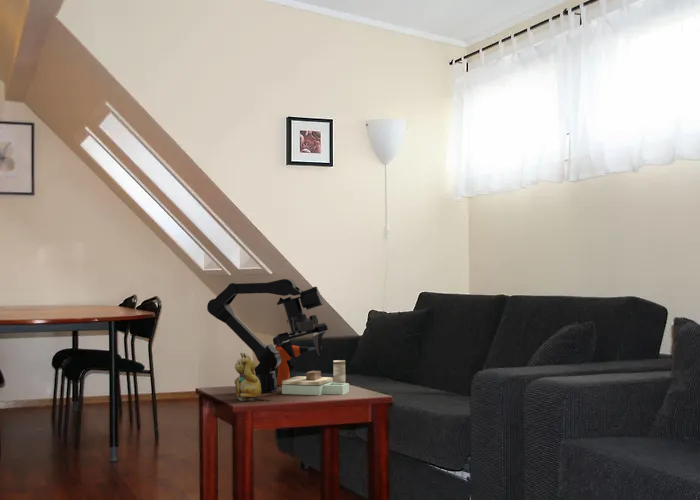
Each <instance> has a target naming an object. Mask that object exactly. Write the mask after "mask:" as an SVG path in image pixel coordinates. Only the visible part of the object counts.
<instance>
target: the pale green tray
mask: <svg viewBox="0 0 700 500" xmlns="http://www.w3.org/2000/svg"><path fill="white" fill-rule="evenodd" d="M349 392H350V383H348V382H345V383H334V380H333V381H330V382H327V383H325V384H322V385H294V384H283V385H282V386H281V394H283V395H284V394H285V395H305V396H308V395H310V396H321V395H342V396H343V395H345V394H347V393H349Z"/></svg>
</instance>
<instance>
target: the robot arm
mask: <svg viewBox="0 0 700 500" xmlns="http://www.w3.org/2000/svg"><path fill="white" fill-rule="evenodd" d="M241 294H242V295H243V294H250V295H251V294H271V295H276V296H283V297H285V298H283V297H279V298H278V299H279V300H278V301H277V303H276V305H277V306H283V308H284V312H285V316H286V319H287V320H286V323H287V324H288V325H289V329H290V331H289V333H288V332H282V333H279V334H277V335H275V336H273V337H272V341H273V344H272V343H270V344H267V345H266V344H264V343H263V341H261V340H260V339H259V338H258V337H257V336H256V335H255V334H254V333H253V332H252V330H251V329H249V328H248V327H247V326H246V325H245V324H244V323H243V322H242V320H240V318H238V316H236V314H235V311H234V310H233V309H232V307H231V304H232V303H233V301H234V300H235V299H236V297H237V296H238V295H241ZM286 296H287V297H286ZM293 296H294V297H293ZM295 296H296V297H295ZM206 306H207V307H206V310H207V312H208V313H209V314H210V315H212V317H214V318H215V319H217V320H219V321H221V322H222V323H224V324H226V325H227V326H228V328H229V329H230V330H232V332H234V334H235V335H236V336H238V338H239V339H240V340H241V341H242V342H243V343H244V344H245V345H246V346H247V347H248V348H249V349H250V350H251V351H252V352H253V353H254V355H255V358H256V359H257V362H259V363H258V364H257V365H255V369H254V371H255V375H256V376H257V377H258V379H259V381H260V383H261V393H273V392H276V391H278V386H277V377H276V375H277V374H276V370H277V368H278V366H279V365H280V363H281V356H280V354H279V351H277V350H276V349H275V348H276V347H275V346H277V345H278V347H282V348H283V349H284V350H285V351H286V352H287V353H288V355H289V356H290V357H291V358H292V359H291V360H292V361H293V362H294V363H295V362H297V357H295V354H294V351H293V348H292V345H293V343H292V340H293V339H296V338H301V337H304V336H308V335H313V336H311V339H312V341H313V344H314V347H315V348H316V350H315V351H316V353H317V355H318V356H321V353H322V349H321V347H322V342H323V341H322V340H323V339H322V338H323V336H324V335H326V332H327V331H329V327H328V324H327V323H325V322H323V323H319V320H318V316H317V315H316V314H313V315H309V317H308V318H307V315H306V313H304V311H303V309H305V310H307V311H310V310H312V309H315V308H319V307H322V306H324V300H323V297H322V295H321V292H320V291H319V288H318V287H317V286H313V287H311V288H310V289H305V290H302V289H301V288H299V287H298V286H297V284H296V282H295V281H294V280H293V279H292V278H281V279H277V280H273V281H269V282H249V283H248V282H246V283H245V282H244V283H243V282H242V283H238V282H231V283H229V284H228V285H227V287H226V288H224V289H223V290H222V291H221V292H220V293H219V294H218V295H217V296H216V297H215V298H213V299H210V300H209V301H208V302H207V305H206Z"/></svg>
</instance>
